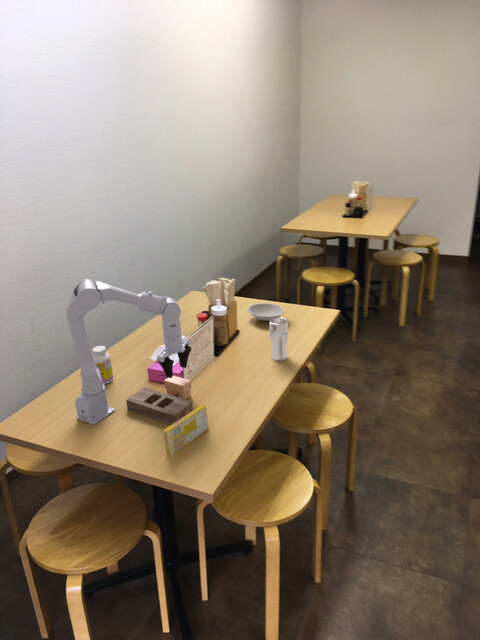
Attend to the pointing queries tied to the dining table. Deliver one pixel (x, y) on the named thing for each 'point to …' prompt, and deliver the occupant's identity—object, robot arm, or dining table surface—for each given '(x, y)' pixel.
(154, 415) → the slot base
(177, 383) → the peach arch block
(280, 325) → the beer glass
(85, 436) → the dining table surface
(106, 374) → the supplement bottle
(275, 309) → the dish
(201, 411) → the candy box
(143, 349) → the dining table surface
